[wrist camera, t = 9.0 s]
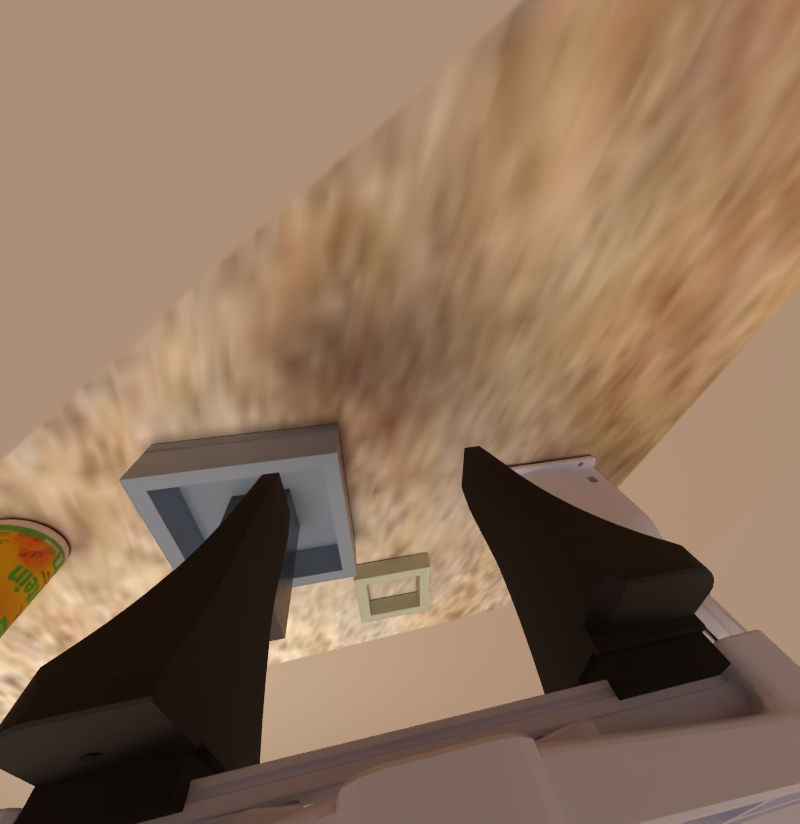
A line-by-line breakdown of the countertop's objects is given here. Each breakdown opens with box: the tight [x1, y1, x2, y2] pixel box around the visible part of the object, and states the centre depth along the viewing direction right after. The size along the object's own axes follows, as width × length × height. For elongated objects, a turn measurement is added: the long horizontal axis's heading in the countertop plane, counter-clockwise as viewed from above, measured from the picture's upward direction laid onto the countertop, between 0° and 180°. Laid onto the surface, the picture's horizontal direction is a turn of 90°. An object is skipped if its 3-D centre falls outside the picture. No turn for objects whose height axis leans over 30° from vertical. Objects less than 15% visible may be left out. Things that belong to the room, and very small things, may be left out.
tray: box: [119, 424, 357, 587], centre depth 23 cm, size 12×12×4 cm
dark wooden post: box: [220, 488, 300, 641], centre depth 20 cm, size 4×4×8 cm
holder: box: [354, 553, 430, 623], centre depth 31 cm, size 7×7×2 cm
